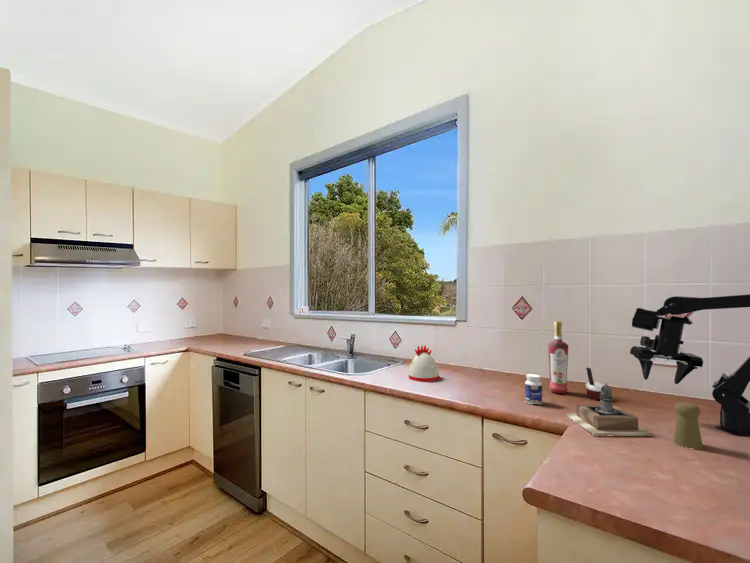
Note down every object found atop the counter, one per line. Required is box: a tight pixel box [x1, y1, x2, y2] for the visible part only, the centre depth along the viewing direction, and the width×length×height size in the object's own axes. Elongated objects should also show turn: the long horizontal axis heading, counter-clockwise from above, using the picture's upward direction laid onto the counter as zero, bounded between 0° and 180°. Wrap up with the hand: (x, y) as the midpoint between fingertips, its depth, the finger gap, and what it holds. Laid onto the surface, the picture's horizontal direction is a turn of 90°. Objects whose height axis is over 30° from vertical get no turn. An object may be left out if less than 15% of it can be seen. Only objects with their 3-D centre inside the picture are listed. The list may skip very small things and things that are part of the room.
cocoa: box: [585, 367, 605, 401], centre depth 140 cm, size 10×6×12 cm, turn 98°
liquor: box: [547, 321, 569, 395], centre depth 148 cm, size 7×7×28 cm
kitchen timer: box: [408, 344, 440, 383], centre depth 172 cm, size 14×14×15 cm
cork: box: [672, 401, 704, 450], centre depth 100 cm, size 6×6×11 cm
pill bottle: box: [524, 373, 543, 405], centre depth 135 cm, size 6×6×10 cm
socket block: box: [565, 404, 652, 438], centre depth 113 cm, size 16×16×4 cm
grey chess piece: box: [595, 382, 618, 415], centre depth 113 cm, size 6×6×12 cm
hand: (660, 381), depth 121 cm, fingers open, 9 cm apart
